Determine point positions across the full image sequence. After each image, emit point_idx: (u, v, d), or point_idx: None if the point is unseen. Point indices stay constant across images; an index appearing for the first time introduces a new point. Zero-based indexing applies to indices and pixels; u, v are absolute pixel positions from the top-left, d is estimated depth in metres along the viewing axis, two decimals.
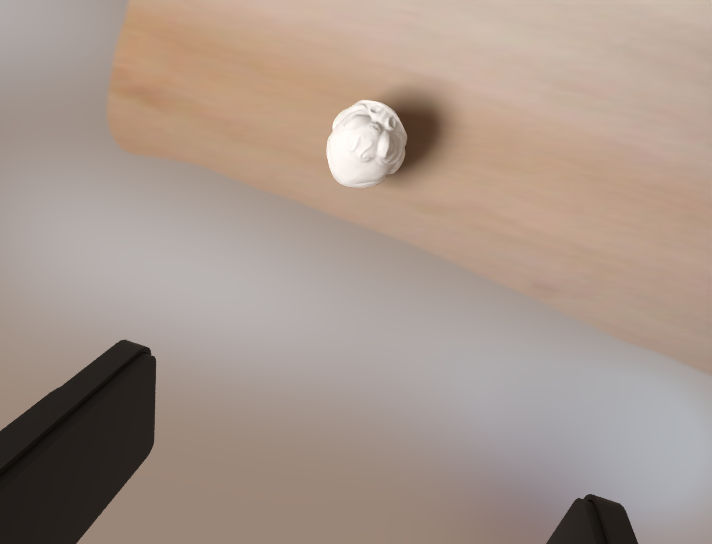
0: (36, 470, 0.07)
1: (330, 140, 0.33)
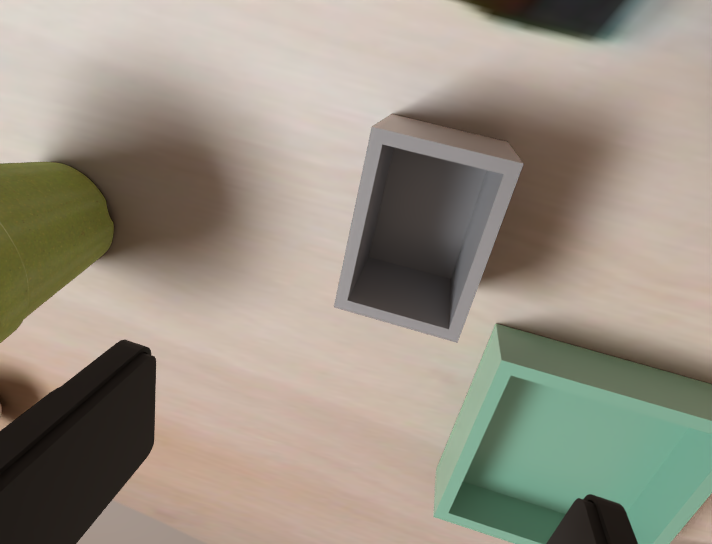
0: (36, 470, 0.07)
1: None
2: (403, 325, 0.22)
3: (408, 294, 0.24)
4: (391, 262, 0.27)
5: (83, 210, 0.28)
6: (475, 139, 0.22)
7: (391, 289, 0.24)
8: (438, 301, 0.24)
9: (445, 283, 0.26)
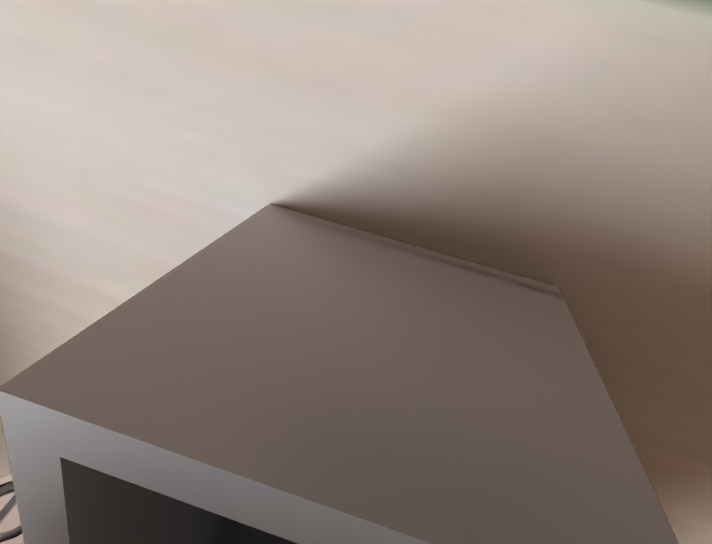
0: None
1: None
2: None
3: None
4: None
5: None
6: (475, 319, 0.07)
7: None
8: None
9: None
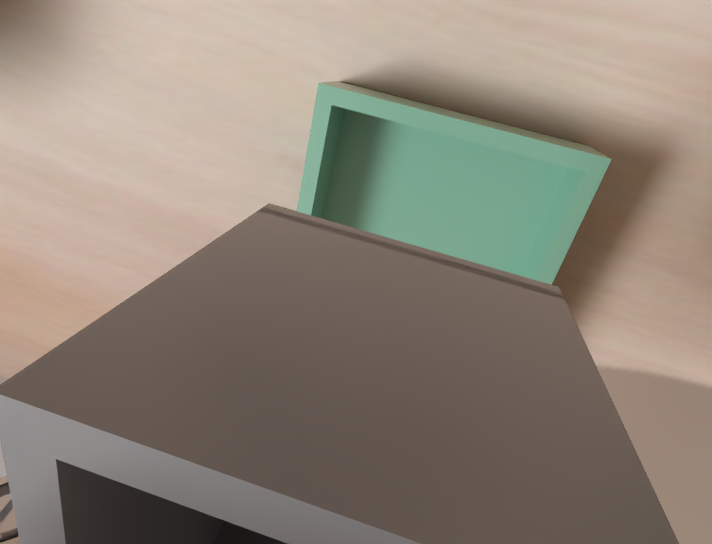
0: None
1: None
2: None
3: None
4: None
5: None
6: (475, 319, 0.07)
7: None
8: None
9: None
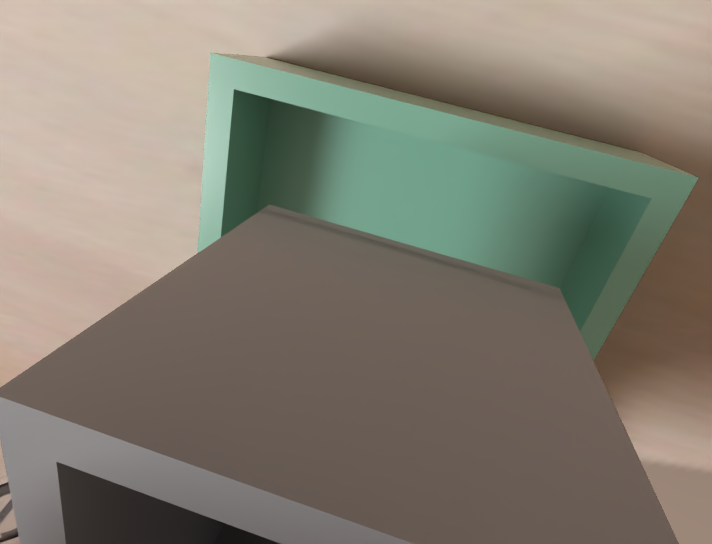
0: None
1: None
2: None
3: None
4: None
5: None
6: (476, 320, 0.07)
7: None
8: None
9: None
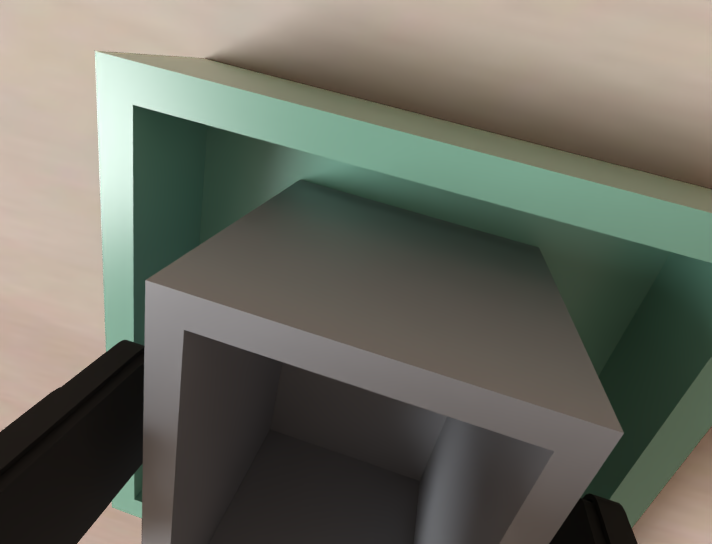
0: (38, 469, 0.07)
1: None
2: None
3: None
4: (311, 442, 0.15)
5: None
6: (469, 263, 0.09)
7: None
8: None
9: (408, 498, 0.14)
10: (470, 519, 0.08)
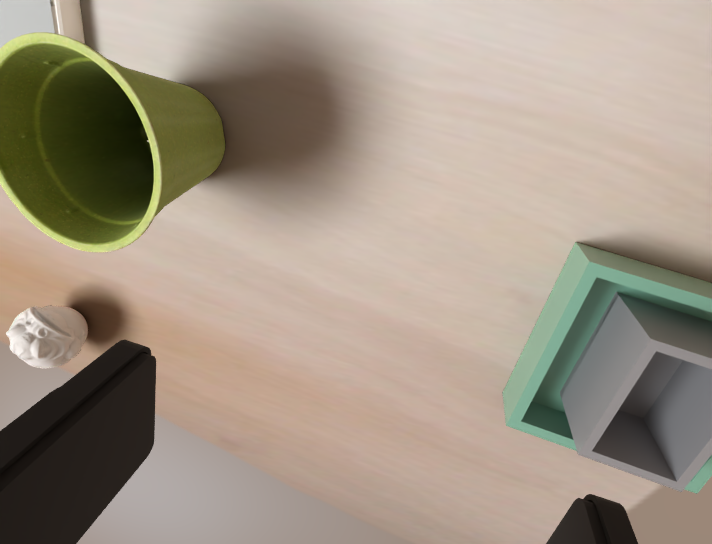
0: (36, 470, 0.07)
1: None
2: (635, 474, 0.28)
3: (626, 440, 0.30)
4: None
5: (209, 123, 0.31)
6: (702, 330, 0.28)
7: (611, 434, 0.30)
8: (651, 447, 0.30)
9: (643, 424, 0.32)
10: (710, 412, 0.27)
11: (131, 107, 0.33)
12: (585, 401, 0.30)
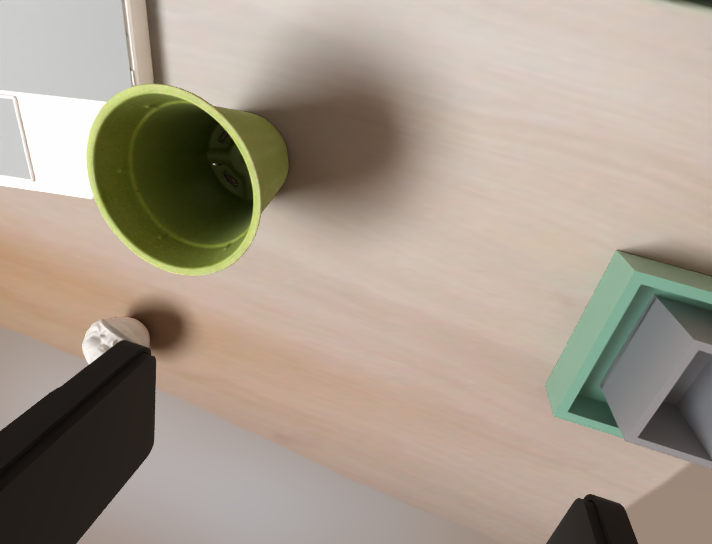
0: (36, 470, 0.07)
1: (83, 346, 0.43)
2: (676, 456, 0.32)
3: (665, 426, 0.33)
4: None
5: (279, 150, 0.34)
6: None
7: (651, 422, 0.34)
8: (686, 432, 0.33)
9: (676, 411, 0.36)
10: None
11: (201, 134, 0.36)
12: (628, 393, 0.33)
